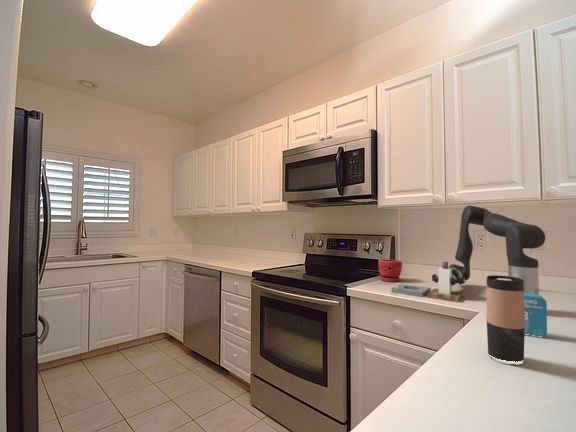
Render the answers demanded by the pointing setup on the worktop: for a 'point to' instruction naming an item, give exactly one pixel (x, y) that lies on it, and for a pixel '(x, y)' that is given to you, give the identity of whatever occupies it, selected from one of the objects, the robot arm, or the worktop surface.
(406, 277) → the worktop surface
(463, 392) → the worktop surface
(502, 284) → the travel mug
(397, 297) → the worktop surface
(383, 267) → the plant pot
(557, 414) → the worktop surface
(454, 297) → the brown square frame
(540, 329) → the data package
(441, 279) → the plug
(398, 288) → the port plate
